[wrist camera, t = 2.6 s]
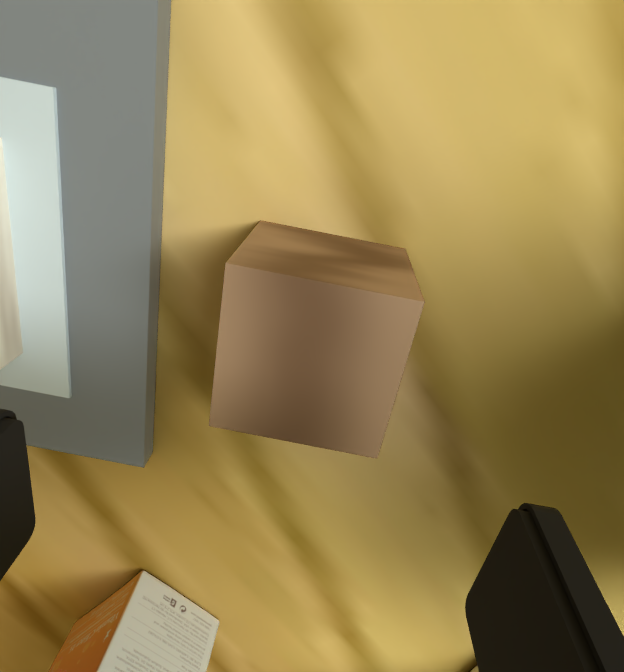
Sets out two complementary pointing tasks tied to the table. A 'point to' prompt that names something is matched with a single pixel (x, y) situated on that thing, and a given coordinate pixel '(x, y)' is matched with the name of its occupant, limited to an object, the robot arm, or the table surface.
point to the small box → (140, 633)
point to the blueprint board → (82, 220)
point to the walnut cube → (313, 338)
